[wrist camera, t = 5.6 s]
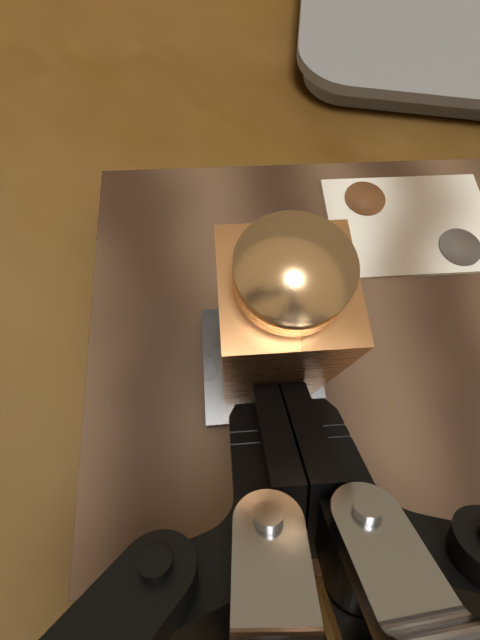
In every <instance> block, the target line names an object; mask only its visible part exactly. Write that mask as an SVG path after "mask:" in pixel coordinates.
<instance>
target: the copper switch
mask: <svg viewBox="0 0 480 640" xmlns="http://www.w3.org/2000/svg"><path fill="white" fill-rule="evenodd" d="M214 233H215V251H216V268H217V286H218V304H219V309H209V310H201V314H202V341H203V367H204V394H205V420H206V427H207V428H211V427H225V426H229V415H230V413H231V412H232V410H233V408H234V406H235V404H242V403H252V385H259V384H275V383H277V384H279V383H289V382H305V383H306V385H307V388H308V390H309V393H310V395H311V397H312V399H317V398H325V399H326V394H325V388H324V385H325V384H326V383H328V382H329V381H330V380H332V379H333V378H334V377H336V376H337V375H338V374H340V373H341V372H342V371H344V370H345V369H346V368H348V367H349V366H350V365H352V364H353V363H354V362H356V361H357V360H358V359H360V358H361V357H362V356H364V355H365V354H366V353H368V352H369V351H370V350H371V349H373V348H374V347H375V346H374V341H373V337H372V332H371V327H370V323H369V318H368V313H367V308H366V304H365V299H364V294H363V290H362V285H361V280H360V263H359V258H358V254H357V252H356V249H355V247H354V245H353V243H352V238H351V233H350V229H349V224H348V219H340V220H328V219H326V218H324V217H322V216H319V215H316V214H314V213H310V212H306V211H299V210H285V211H278V212H273V213H270V214H267V215H265V216H263V217H261V218H259V219H257V220H256V221H254V222H253V223H246V224H222V225H214Z"/></svg>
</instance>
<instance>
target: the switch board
mask: <svg viewBox="0 0 480 640" xmlns="http://www.w3.org/2000/svg"><path fill="white" fill-rule="evenodd" d="M285 210H299V211H306V212H310V213H314V214H316V215H319V216H322V217H324V218H326V219H328V220H340V219H348V224H349V229H350V233H351V238H352V243H353V245H354V247H355V249H356V252H357V254H358V258H359V263H360V280H361V285H362V290H363V294H364V299H365V304H366V308H367V313H368V318H369V323H370V327H371V332H372V337H373V341H374V346H375V347H374V348H373V349H371V350H370V351H369V352H368V353H366V354H365V355H364V356H362V357H361V358H360V359H358V360H357V361H356V362H354V363H353V364H352V365H350V366H349V367H348V368H346V369H345V370H344V371H342V372H341V373H340V374H338V375H337V376H336V377H334V378H333V379H332V380H330V381H329V382H328V383H326V384H325V385H324V388H325V394H326V400H327V401H329V402H330V403H331V404H332V405H333V406H334V407H336V408H337V409H338V411H339V413H340V415H341V417H342V419H343V421H344V424H345V426H346V427H347V429H348V431H349V433H350V437H352V439H353V441H354V443H355V445H356V447H357V449H358V451H359V453H360V455H361V457H362V459H363V461H364V463H365V465H366V467H367V469H368V471H369V473H370V475H371V477H372V479H373V481H374V483H375V484H376V486H378V487H380V488H382V489H383V490H385V491H386V492H388V493H389V494H390V495H392V496H393V497H394V499H395V500H396V501H397V502H398V503H399V505H400V506H401V507H402V508H404V509H406V510H409V511H412V512H415V513H419V514H424V515H428V516H433V517H438V518H443V519H447V520H452V517H453V515H454V513H455V512H456V511H457V510H458V509H459V508H461V507H463V506H466V505H480V159H452V160H423V161H393V162H363V163H333V164H304V165H274V166H244V167H215V168H185V169H155V170H126V171H102V180H101V193H100V205H99V218H98V231H97V243H96V256H95V269H94V282H93V294H92V307H91V320H90V333H89V345H88V358H87V371H86V384H85V396H84V409H83V422H82V435H81V447H80V460H79V473H78V485H77V498H76V511H75V524H74V536H73V549H72V562H71V575H70V587H69V600H68V601H75V600H77V599H78V598H79V597H80V596H81V595H82V594H83V593H84V592H85V591H86V590H87V589H88V588H89V587H90V586H91V585H92V584H93V583H94V582H95V581H96V579H97V578H98V577H99V576H100V575H101V574H102V573H103V572H104V571H105V570H106V569H107V568H108V567H109V566H110V565H111V564H112V563H113V562H114V561H115V560H116V559H117V558H118V557H119V556H120V554H121V553H122V552H123V551H124V550H125V549H126V548H127V547H128V546H129V545H130V544H131V543H132V542H133V541H135V540H136V539H137V538H139V537H140V536H142V535H144V534H146V533H148V532H151V531H154V530H159V529H170V530H174V531H178V532H180V533H182V534H183V535H185V536H186V537H187V538H188V539H191V538H193V537H195V536H198V535H200V534H202V533H205V532H207V531H209V530H211V529H213V528H214V527H216V526H217V525H219V524H220V523H221V522H222V521H223V520H224V519H225V518H226V516H227V515H228V513H229V512H230V510H231V507H232V505H233V485H232V469H231V451H230V431H229V426H225V427H211V428H207V427H206V420H205V394H204V367H203V341H202V314H201V310H209V309H219V304H218V286H217V268H216V251H215V233H214V225H222V224H246V223H253V222H254V221H256V220H257V219H259V218H261V217H263V216H265V215H267V214H270V213H273V212H278V211H285ZM312 564H313V570H314V576H315V577H321V576H322V572H321V568H320V564H319V561H318V559H312Z"/></svg>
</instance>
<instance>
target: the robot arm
mask: <svg viewBox="0 0 480 640" xmlns="http://www.w3.org/2000/svg"><path fill="white" fill-rule="evenodd" d="M229 431H230V451H231V469H232V485H233V505H232V507H231V510H230V512H229V513H228V515H227V516H226V518H225V519H224V520H223V521H222V522H221V523H220V524H219V525H217V526H216V527H214V528H213V529H211V530H209V531H207V532H205V533H202V534H200V535H198V536H195V537H193V538H191V539H188V538H187V537H186V536H185V535H183V534H182V533H180V532H178V531H174V530H170V529H159V530H154V531H151V532H148V533H146V534H144V535H142V536H140V537H139V538H137V539H136V540H135V541H133V542H132V543H131V544H130V545H129V546H128V547H127V548H126V549H125V550H124V551H123V552H122V553H121V554H120V556H119V557H118V558H117V559H116V560H115V561H114V562H113V563H112V564H111V565H110V566H109V567H108V568H107V569H106V570H105V571H104V572H103V573H102V574H101V575H100V576H99V577H98V578H97V579H96V581H95V582H94V583H93V584H92V585H91V586H90V587H89V588H88V589H87V590H86V591H85V592H84V593H83V594H82V595H81V596H80V597H79V598H78V599H77V600H76V601H75V602H74V603H73V604H72V606H71V607H70V608H69V609H68V610H67V611H66V612H65V613H64V614H63V615H62V616H61V617H60V618H59V619H58V620H57V621H56V622H55V623H54V624H53V625H52V626H51V627H50V628H49V629H48V631H47V632H46V633H45V634H44V635H43V636H42V637H41V638H40V639H39V640H327V639H326V636H325V632H324V627H323V622H322V616H321V610H320V605H319V599H318V593H317V587H316V582H315V576H314V570H313V564H312V559H318V561H319V564H320V568H321V572H322V576H323V578H322V588H321V591H322V598H323V602H324V605H325V608H326V611H327V614H328V617H329V620H330V623H331V627H332V630H333V633H334V636H335V639H336V640H480V505H466V506H463V507H461V508H459V509H458V510H457V511H456V512H455V513H454V515H453V517H452V520H447V519H443V518H438V517H433V516H428V515H424V514H419V513H415V512H412V511H409V510H406V509H404V508H402V507H401V506H400V505H399V503H398V502H397V501H396V500H395V499H394V497H393V496H392V495H390V494H389V493H388V492H386V491H385V490H383V489H382V488H380V487H378V486H376V484H375V483H374V481H373V479H372V477H371V475H370V473H369V471H368V469H367V467H366V465H365V463H364V461H363V459H362V457H361V455H360V453H359V451H358V449H357V447H356V445H355V443H354V441H353V439H352V437H350V433H349V431H348V429H347V427H346V426H345V424H344V421H343V419H342V417H341V415H340V413H339V411H338V409H337V408H336V407H334V406H333V405H332V404H331V403H330V402H329V401H327V400H326V399H325V398H317V399H312V397H311V395H310V393H309V390H308V388H307V385H306V383H305V382H289V383H279V384H277V383H275V384H259V385H252V403H242V404H235V406H234V408H233V410H232V412H231V413H230V415H229Z"/></svg>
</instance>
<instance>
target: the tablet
mask: <svg viewBox="0 0 480 640" xmlns="http://www.w3.org/2000/svg"><path fill="white" fill-rule="evenodd" d="M296 57H297V64H298V67H299V69H300V71H301V72H302V73H303V78H304V83H305V85H306V87H307V88H308V90H309V91H310V92H311V93H312V94H313V95H314V96H315V97H317V98H318V99H320V100H322V101H324V102H326V103H329V104H332V105H336V106H343V107H353V108H363V109H372V110H382V111H391V112H401V113H411V114H420V115H430V116H439V117H449V118H459V119H468V120H478V121H480V0H300V13H299V26H298V40H297V54H296Z"/></svg>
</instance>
